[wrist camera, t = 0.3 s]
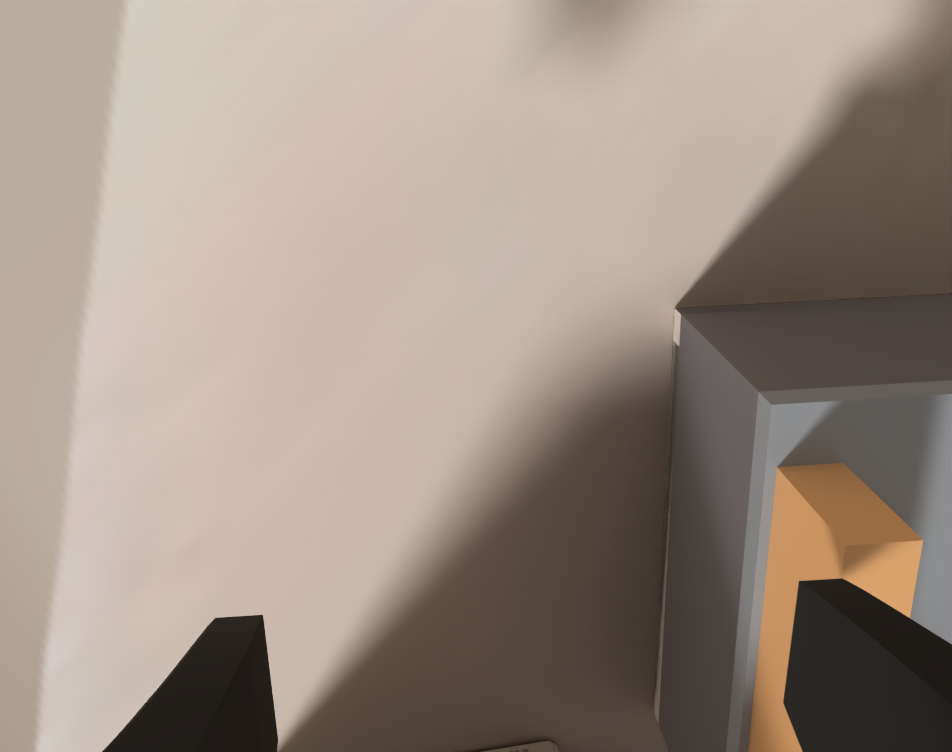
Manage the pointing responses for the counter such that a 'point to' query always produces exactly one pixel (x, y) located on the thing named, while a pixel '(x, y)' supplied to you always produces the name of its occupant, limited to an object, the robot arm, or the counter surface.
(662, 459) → the counter surface
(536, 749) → the coffee box
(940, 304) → the grey box
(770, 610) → the box lid
